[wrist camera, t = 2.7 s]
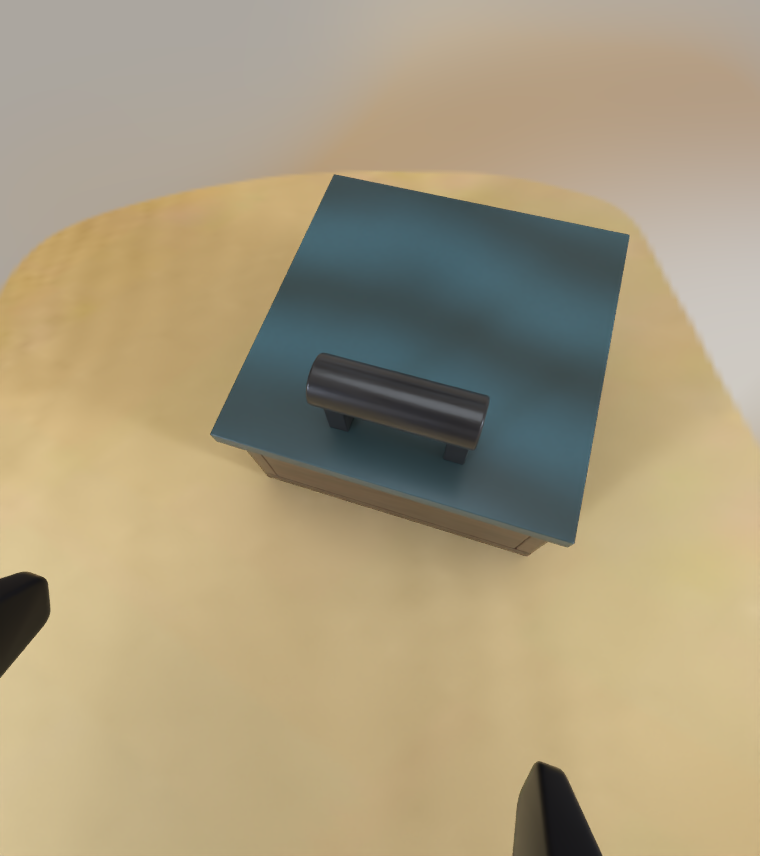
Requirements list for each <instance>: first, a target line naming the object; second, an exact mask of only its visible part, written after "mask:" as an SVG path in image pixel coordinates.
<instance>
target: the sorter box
mask: <svg viewBox="0 0 760 856" xmlns="http://www.w3.org/2000/svg"><path fill="white" fill-rule="evenodd" d="M248 452H249V454H250V455H251V456H252V457H253V459H254V460H255V461H256V462H257V463H258V465H259V466H260V467H261V468H262V469H263V471H264V472H265V473H266V474H267V476H269V477H272V478H275V479H278V480H282V481H285V482H288V483H291V484H295V485H298V486H301V487H304V488H308V489H311V490H314V491H317V492H321V493H324V494H327V495H330V496H333V497H337V498H340V499H343V500H346V501H350V502H353V503H356V504H359V505H363V506H366V507H369V508H372V509H376V510H379V511H382V512H385V513H389V514H392V515H395V516H398V517H401V518H405V519H408V520H411V521H414V522H418V523H421V524H424V525H427V526H431V527H434V528H437V529H440V530H444V531H447V532H450V533H453V534H457V535H460V536H463V537H466V538H469V539H473V540H476V541H479V542H482V543H486V544H489V545H492V546H495V547H499V548H502V549H505V550H508V551H512V552H515V553H518V554H521V555H525V556H528V555H530V554H531V553H532V552H534V551H535V550H537V549H538V548H540V547H541V546H542V545H544V544H545V543H547V542H548V541H544V540H541V539H538V538H535V537H531V536H528V535H525V534H521V533H518V532H515V531H511V530H508V529H505V528H501V527H498V526H495V525H492V524H488V523H485V522H482V521H478V520H475V519H472V518H468V517H465V516H462V515H458V514H455V513H452V512H449V511H445V510H442V509H439V508H435V507H432V506H429V505H425V504H422V503H419V502H415V501H412V500H409V499H406V498H402V497H399V496H396V495H392V494H389V493H386V492H382V491H379V490H376V489H372V488H369V487H366V486H363V485H359V484H356V483H353V482H349V481H346V480H343V479H339V478H336V477H333V476H329V475H326V474H323V473H320V472H316V471H313V470H310V469H306V468H303V467H300V466H296V465H293V464H290V463H287V462H283V461H280V460H277V459H273V458H270V457H267V456H263V455H260V454H257V453H253V452H250V451H248Z"/></svg>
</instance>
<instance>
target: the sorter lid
mask: <svg viewBox="0 0 760 856" xmlns="http://www.w3.org/2000/svg"><path fill="white" fill-rule="evenodd" d="M628 242H629V235H628V234H623V233H618V232H613V231H608V230H603V229H599V228H594V227H589V226H584V225H579V224H574V223H569V222H564V221H560V220H555V219H550V218H545V217H540V216H535V215H530V214H525V213H521V212H516V211H511V210H506V209H501V208H496V207H491V206H486V205H482V204H477V203H472V202H467V201H462V200H457V199H452V198H447V197H443V196H438V195H433V194H428V193H423V192H418V191H413V190H408V189H404V188H399V187H394V186H389V185H384V184H379V183H374V182H369V181H365V180H360V179H355V178H350V177H345V176H340V175H334V176H333V178H332V180H331V182H330V184H329V186H328V188H327V190H326V192H325V195H324V197H323V199H322V201H321V203H320V205H319V207H318V209H317V211H316V213H315V215H314V218H313V220H312V222H311V224H310V226H309V228H308V230H307V232H306V234H305V236H304V238H303V241H302V243H301V245H300V247H299V249H298V251H297V253H296V255H295V257H294V259H293V262H292V264H291V266H290V268H289V270H288V272H287V274H286V276H285V278H284V280H283V282H282V285H281V287H280V289H279V291H278V293H277V295H276V297H275V299H274V301H273V303H272V306H271V308H270V310H269V312H268V314H267V316H266V318H265V320H264V322H263V324H262V326H261V329H260V331H259V333H258V335H257V337H256V339H255V341H254V343H253V345H252V347H251V349H250V352H249V354H248V356H247V358H246V360H245V362H244V364H243V366H242V368H241V370H240V373H239V375H238V377H237V379H236V381H235V383H234V385H233V387H232V389H231V391H230V393H229V396H228V398H227V400H226V402H225V404H224V406H223V408H222V410H221V412H220V414H219V417H218V419H217V421H216V423H215V425H214V427H213V429H212V431H211V433H210V435H211V436H212V437H213V438H214V439H215V440H216V441H217V442H220V443H224V444H227V445H230V446H234V447H237V448H240V449H244V450H247V451H250V452H253V453H257V454H260V455H263V456H267V457H270V458H273V459H277V460H280V461H283V462H287V463H290V464H293V465H296V466H300V467H303V468H306V469H310V470H313V471H316V472H320V473H323V474H326V475H329V476H333V477H336V478H339V479H343V480H346V481H349V482H353V483H356V484H359V485H363V486H366V487H369V488H372V489H376V490H379V491H382V492H386V493H389V494H392V495H396V496H399V497H402V498H406V499H409V500H412V501H415V502H419V503H422V504H425V505H429V506H432V507H435V508H439V509H442V510H445V511H449V512H452V513H455V514H458V515H462V516H465V517H468V518H472V519H475V520H478V521H482V522H485V523H488V524H492V525H495V526H498V527H501V528H505V529H508V530H511V531H515V532H518V533H521V534H525V535H528V536H531V537H535V538H538V539H541V540H544V541H548V542H551V543H554V544H558V545H561V546H564V547H569V546H571V545H573V544H574V543H575V537H576V532H577V526H578V521H579V515H580V509H581V504H582V498H583V493H584V487H585V482H586V476H587V470H588V465H589V459H590V454H591V448H592V443H593V437H594V431H595V426H596V420H597V415H598V409H599V404H600V398H601V392H602V387H603V381H604V376H605V370H606V365H607V359H608V353H609V348H610V342H611V337H612V331H613V326H614V320H615V314H616V309H617V303H618V298H619V292H620V287H621V281H622V275H623V270H624V264H625V259H626V253H627V248H628Z"/></svg>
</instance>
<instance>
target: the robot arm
mask: <svg viewBox="0 0 760 856" xmlns="http://www.w3.org/2000/svg"><path fill="white" fill-rule="evenodd" d="M49 615H50V599H49V589H48V582H47V580H46V579H45V578H44V577H41V576H39V575H36V574H33V573H31V572H20V573H16V574H13V575H10V576H7V577H4V578H1V579H0V678H1V676H2V675H3V674H4V673H5V672H6V670H7V669H8V668H9V667H10V666H11V664H12V663H13V662H14V661H15V660H16V658H17V657H18V656H19V655H20V654H21V652H22V651H23V650H24V649H25V648H26V646H27V645H28V644H29V643H30V642H31V640H32V639H33V638H34V637H35V636H36V634H37V633H38V632H39V631H40V630H41V628H42V627H43V626H44V625H45V623H46V622H47V620H48V618H49ZM513 856H602V854H601V852H600V849H599V847H598V845H597V843H596V841H595V838H594V836H593V834H592V832H591V830H590V827H589V825H588V823H587V821H586V819H585V816H584V814H583V812H582V810H581V808H580V806H579V803H578V801H577V799H576V797H575V795H574V792H573V790H572V788H571V786H570V784H569V781H568V779H567V777H566V775H565V774H564V772H563V771H562V770H561V769H559V768H557V767H554V766H551V765H549V764H546V763H543V762H540V761H538V762H536V763H535V764H534V765H533V767H532V769H531V771H530V773H529V775H528V777H527V779H526V781H525V783H524V785H523V787H522V789H521V791H520V794H519V798H518V803H517V812H516V823H515V834H514V845H513Z"/></svg>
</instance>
